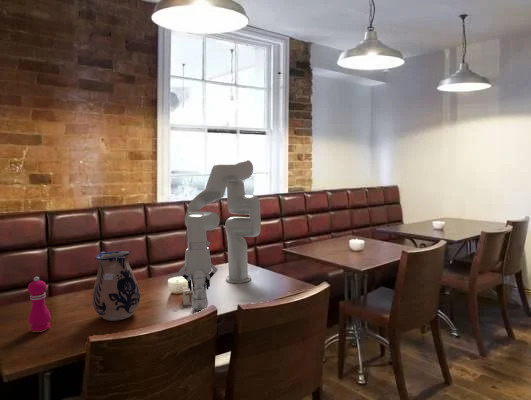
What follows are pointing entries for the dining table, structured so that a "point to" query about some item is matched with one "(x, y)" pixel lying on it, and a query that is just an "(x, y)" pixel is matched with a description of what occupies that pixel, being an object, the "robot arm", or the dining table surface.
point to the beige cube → (187, 296)
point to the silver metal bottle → (199, 290)
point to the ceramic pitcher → (115, 287)
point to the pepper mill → (38, 306)
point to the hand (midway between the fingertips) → (199, 288)
